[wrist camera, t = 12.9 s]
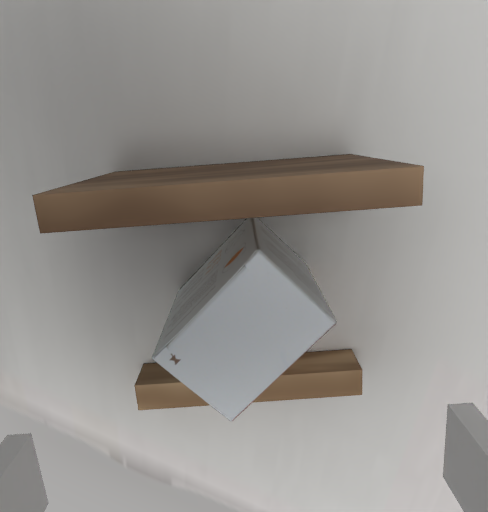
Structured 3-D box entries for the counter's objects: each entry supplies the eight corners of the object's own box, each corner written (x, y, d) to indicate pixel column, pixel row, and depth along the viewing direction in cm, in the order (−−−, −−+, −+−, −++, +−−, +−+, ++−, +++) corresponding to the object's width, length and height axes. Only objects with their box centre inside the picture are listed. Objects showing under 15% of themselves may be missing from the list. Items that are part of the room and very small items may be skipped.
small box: (232, 336, 33) (229, 427, 22) (176, 289, 32) (147, 362, 21) (308, 263, 31) (341, 324, 21) (252, 210, 30) (258, 248, 20)
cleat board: (114, 171, 29) (32, 195, 18) (350, 154, 29) (423, 166, 17) (147, 386, 34) (98, 517, 22) (351, 372, 33) (410, 497, 22)
